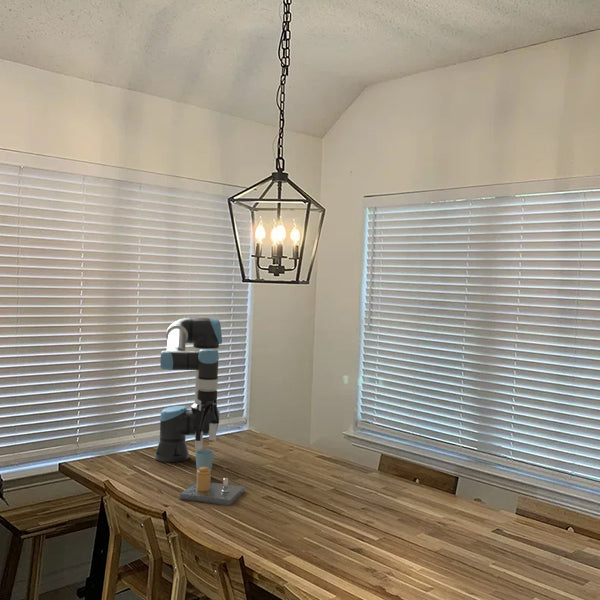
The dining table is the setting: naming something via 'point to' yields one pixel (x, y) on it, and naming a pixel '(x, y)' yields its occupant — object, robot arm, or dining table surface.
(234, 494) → the junction plate
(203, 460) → the cup
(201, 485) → the wooden jar
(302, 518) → the dining table surface
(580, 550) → the dining table surface
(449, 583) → the dining table surface
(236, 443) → the dining table surface
